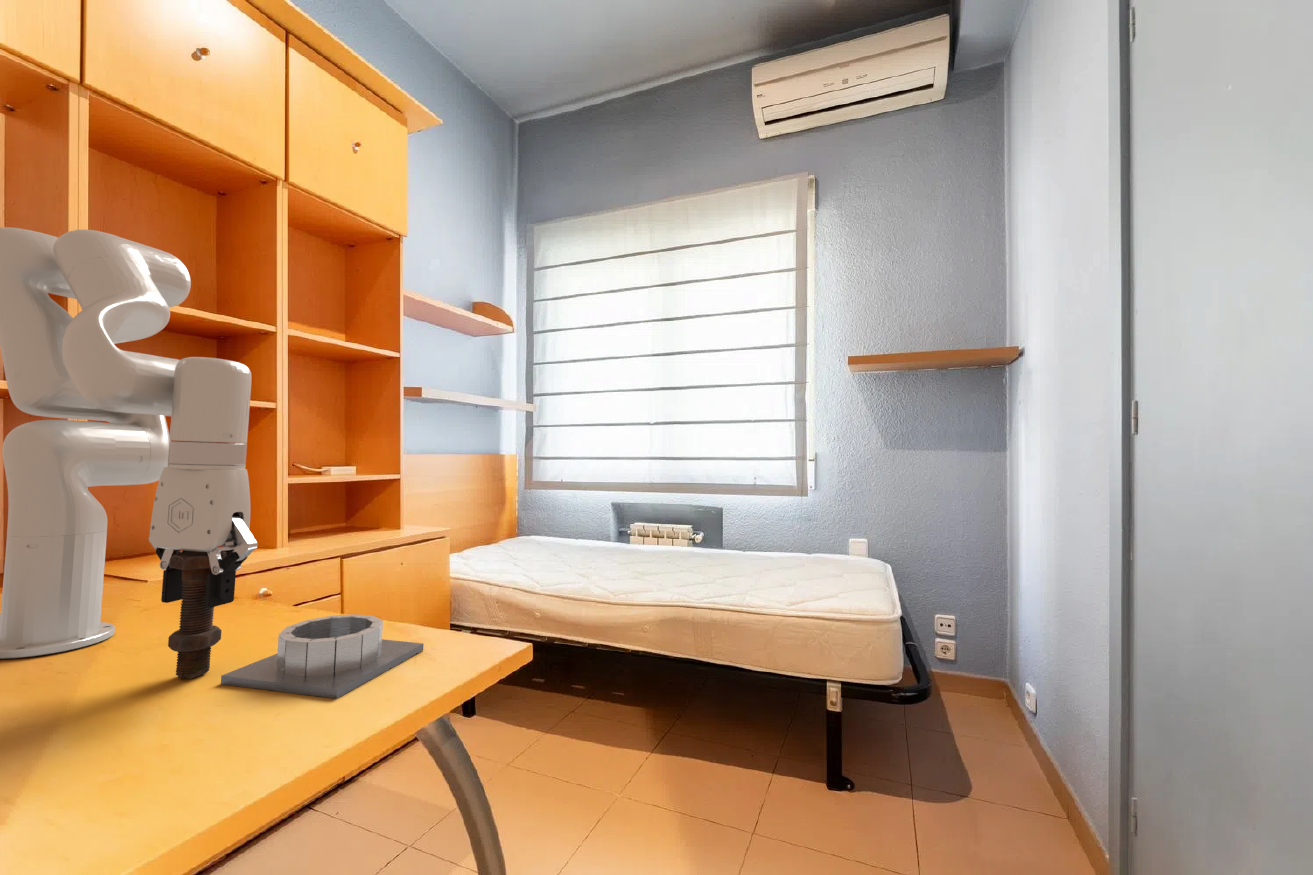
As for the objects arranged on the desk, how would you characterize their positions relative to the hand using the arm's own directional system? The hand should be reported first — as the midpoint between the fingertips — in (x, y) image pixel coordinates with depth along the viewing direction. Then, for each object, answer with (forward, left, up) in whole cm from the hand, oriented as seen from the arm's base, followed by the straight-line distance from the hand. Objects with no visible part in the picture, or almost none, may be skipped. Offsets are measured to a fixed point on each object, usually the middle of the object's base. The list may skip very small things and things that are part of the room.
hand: (198, 600), depth 66 cm
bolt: (0, 0, -9) cm, 9 cm away
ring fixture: (+13, +7, -9) cm, 18 cm away
